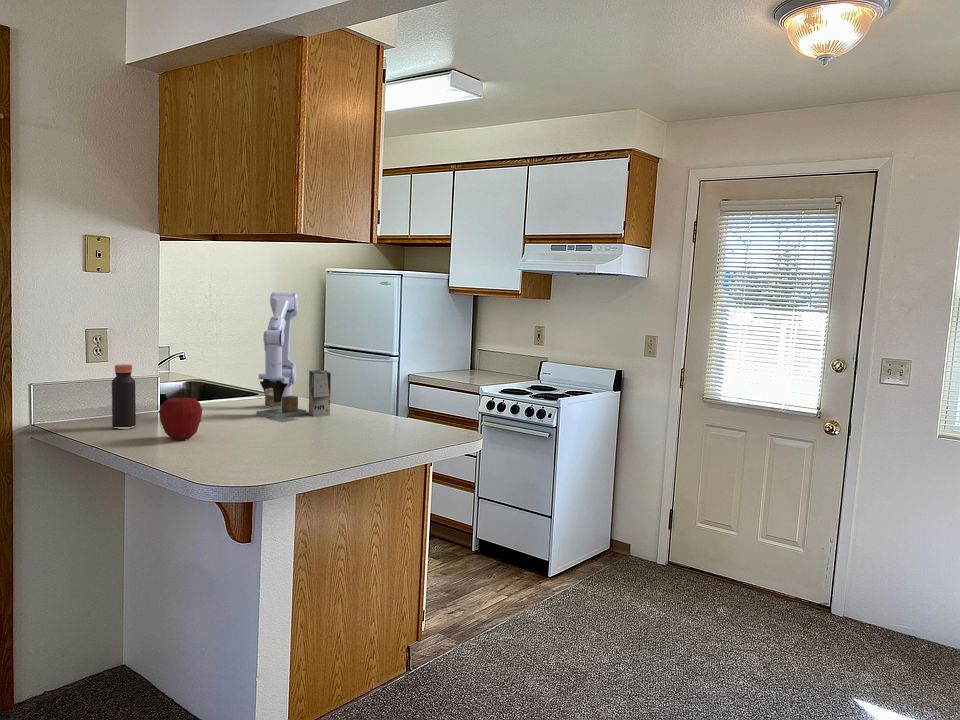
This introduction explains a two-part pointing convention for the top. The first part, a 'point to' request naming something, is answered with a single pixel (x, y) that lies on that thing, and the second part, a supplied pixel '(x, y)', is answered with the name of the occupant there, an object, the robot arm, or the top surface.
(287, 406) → the plain block
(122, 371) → the bottle
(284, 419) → the mat
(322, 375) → the coffee box
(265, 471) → the top surface
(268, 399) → the labelled block
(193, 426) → the apple
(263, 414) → the tray
